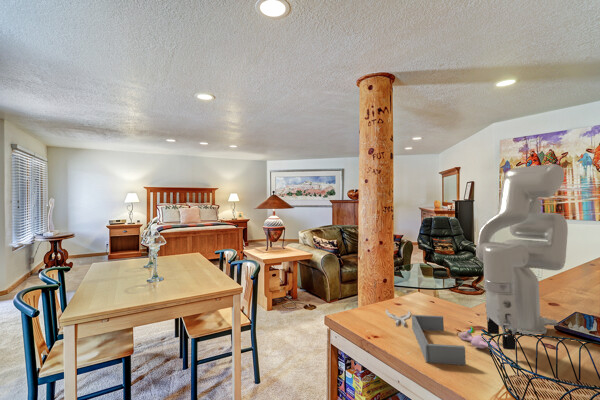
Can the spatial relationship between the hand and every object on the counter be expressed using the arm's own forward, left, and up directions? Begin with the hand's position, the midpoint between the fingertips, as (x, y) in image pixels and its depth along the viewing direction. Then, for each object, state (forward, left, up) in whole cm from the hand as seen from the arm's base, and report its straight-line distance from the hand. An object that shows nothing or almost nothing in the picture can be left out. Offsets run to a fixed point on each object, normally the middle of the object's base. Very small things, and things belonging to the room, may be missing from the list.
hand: (500, 340), depth 87 cm
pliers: (+28, -20, -3) cm, 34 cm away
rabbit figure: (+7, -1, -3) cm, 7 cm away
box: (+19, 0, -2) cm, 19 cm away
